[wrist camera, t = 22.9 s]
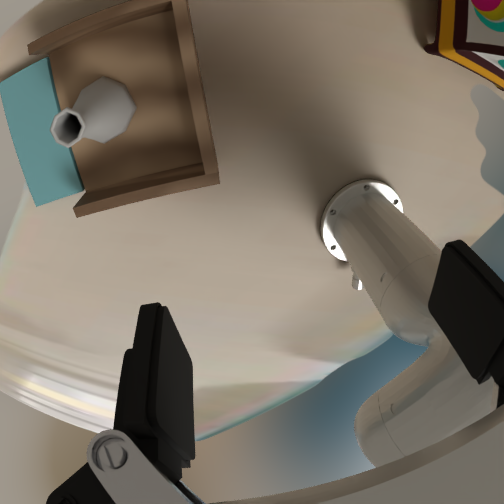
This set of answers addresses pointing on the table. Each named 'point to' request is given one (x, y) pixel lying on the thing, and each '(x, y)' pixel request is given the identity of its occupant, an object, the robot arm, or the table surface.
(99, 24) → the crate
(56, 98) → the teal panel
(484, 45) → the decorative lantern
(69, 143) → the flask
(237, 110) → the table surface
